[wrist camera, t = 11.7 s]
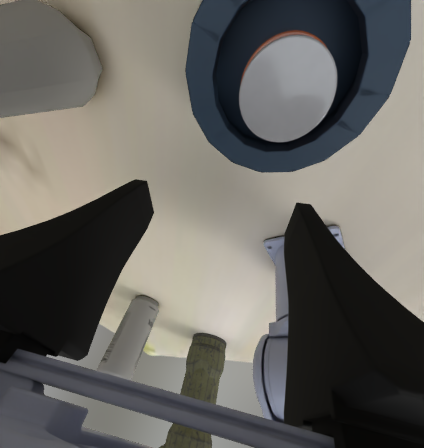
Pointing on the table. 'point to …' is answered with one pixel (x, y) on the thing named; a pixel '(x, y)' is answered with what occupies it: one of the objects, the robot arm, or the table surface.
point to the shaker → (287, 85)
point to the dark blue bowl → (339, 48)
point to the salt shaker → (43, 60)
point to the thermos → (199, 387)
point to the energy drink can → (130, 338)
